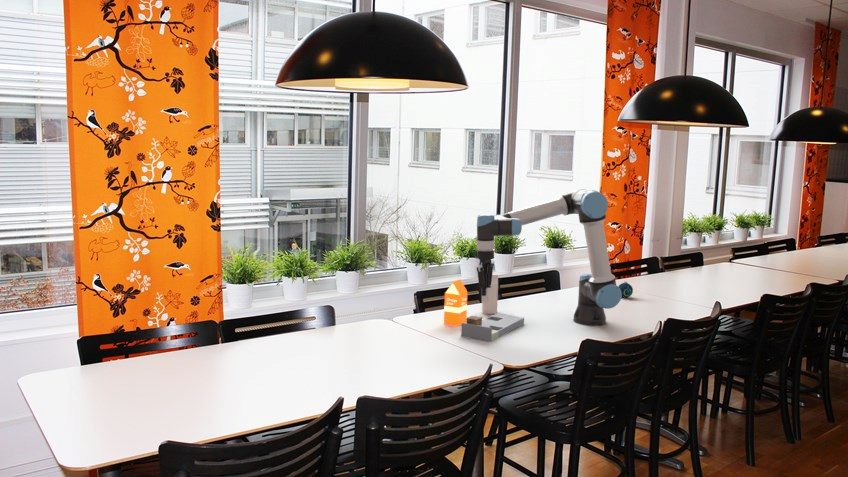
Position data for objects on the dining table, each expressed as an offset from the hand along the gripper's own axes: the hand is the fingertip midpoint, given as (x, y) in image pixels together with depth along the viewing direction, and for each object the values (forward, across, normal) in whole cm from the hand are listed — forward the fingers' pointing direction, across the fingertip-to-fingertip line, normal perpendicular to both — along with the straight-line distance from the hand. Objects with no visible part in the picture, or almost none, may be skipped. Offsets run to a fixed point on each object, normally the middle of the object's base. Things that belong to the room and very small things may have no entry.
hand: (485, 302), depth 293 cm
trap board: (+14, -6, +2) cm, 15 cm away
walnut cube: (+10, +8, -2) cm, 13 cm away
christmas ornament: (+17, -111, +34) cm, 117 cm away
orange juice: (+14, -6, -18) cm, 23 cm away
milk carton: (+14, -34, -14) cm, 40 cm away
